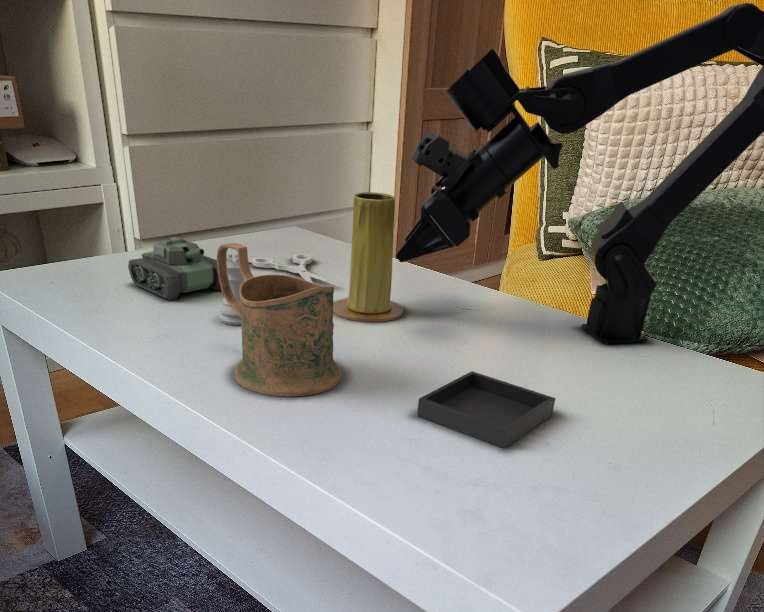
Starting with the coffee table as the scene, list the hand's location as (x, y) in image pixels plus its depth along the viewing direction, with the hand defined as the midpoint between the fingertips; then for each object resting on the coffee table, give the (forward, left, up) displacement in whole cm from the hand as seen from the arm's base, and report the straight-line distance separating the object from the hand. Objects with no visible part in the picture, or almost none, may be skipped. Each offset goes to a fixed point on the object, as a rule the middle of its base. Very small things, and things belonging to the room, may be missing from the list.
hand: (402, 250), depth 96 cm
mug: (+20, +16, -9) cm, 27 cm away
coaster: (+4, -2, -8) cm, 9 cm away
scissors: (+10, -20, -8) cm, 24 cm away
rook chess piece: (+22, 0, -9) cm, 23 cm away
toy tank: (+28, -15, -8) cm, 33 cm away
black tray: (+1, +32, -8) cm, 33 cm away
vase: (+4, -2, -8) cm, 9 cm away
